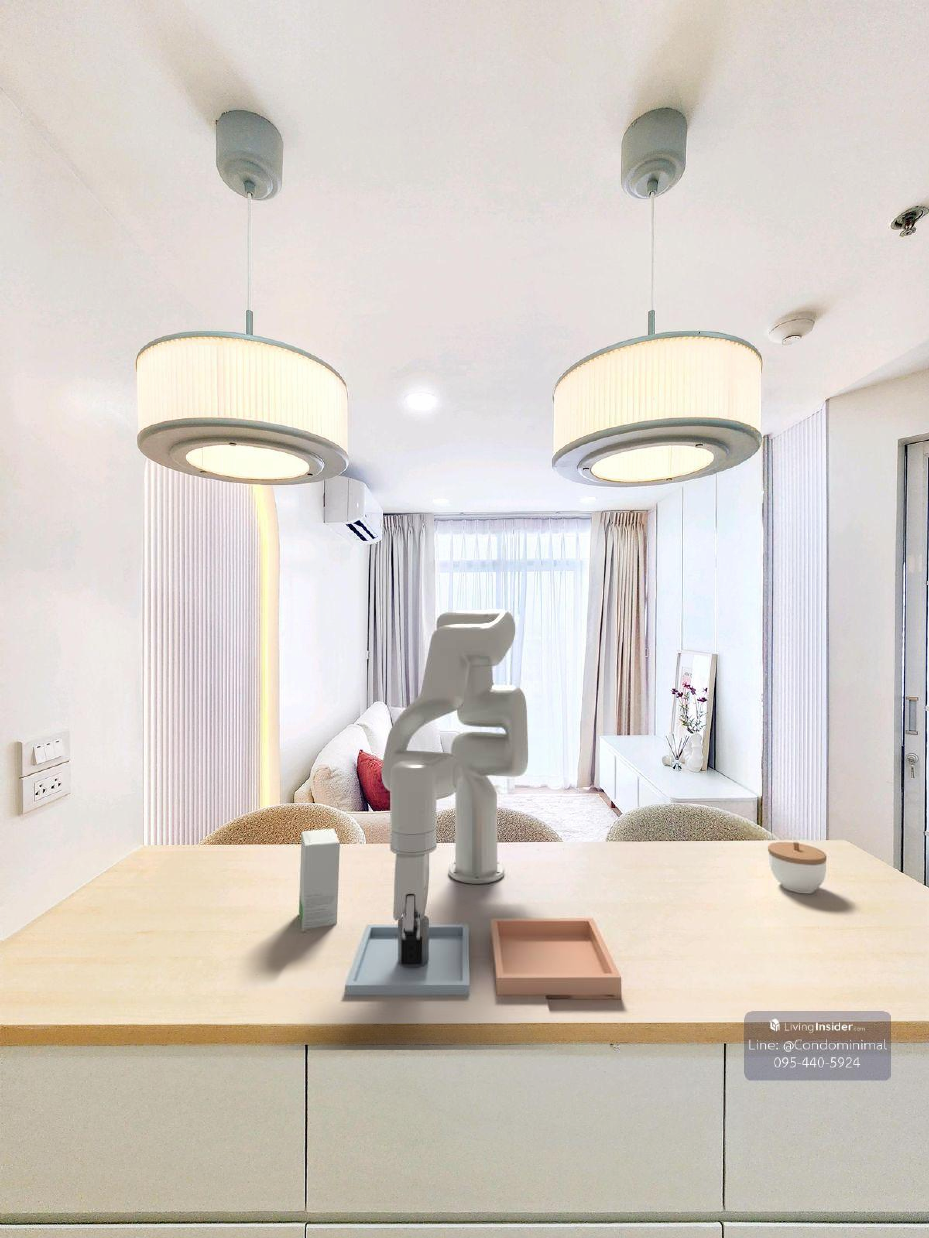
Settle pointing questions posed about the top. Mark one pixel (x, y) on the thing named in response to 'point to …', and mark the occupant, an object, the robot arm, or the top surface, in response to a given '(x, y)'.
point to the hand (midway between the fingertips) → (413, 952)
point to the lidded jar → (797, 866)
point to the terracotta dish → (553, 959)
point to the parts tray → (387, 977)
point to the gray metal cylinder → (425, 941)
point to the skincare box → (319, 878)
